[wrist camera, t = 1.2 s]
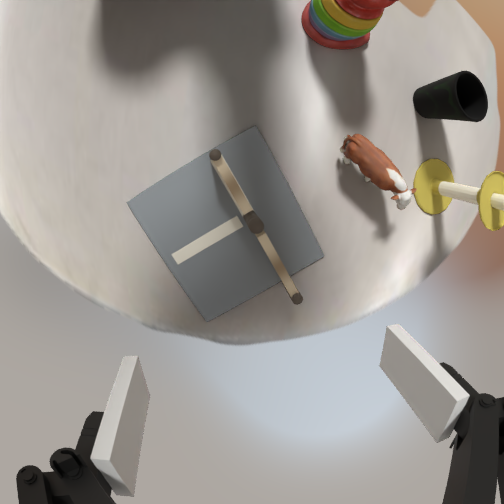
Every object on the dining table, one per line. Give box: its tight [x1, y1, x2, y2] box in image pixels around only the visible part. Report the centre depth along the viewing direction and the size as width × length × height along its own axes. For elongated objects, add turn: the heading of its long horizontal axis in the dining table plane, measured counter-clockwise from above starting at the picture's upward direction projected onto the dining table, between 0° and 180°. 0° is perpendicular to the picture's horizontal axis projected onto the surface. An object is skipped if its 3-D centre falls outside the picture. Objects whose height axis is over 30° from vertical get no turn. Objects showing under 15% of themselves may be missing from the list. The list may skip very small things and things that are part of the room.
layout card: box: [127, 126, 324, 322], centre depth 45 cm, size 22×21×1 cm
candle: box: [414, 159, 504, 231], centre depth 32 cm, size 10×10×32 cm
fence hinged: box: [255, 230, 303, 304], centre depth 43 cm, size 11×1×7 cm, turn 29°
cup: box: [413, 71, 488, 122], centre depth 37 cm, size 8×8×12 cm
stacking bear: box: [302, 0, 398, 49], centre depth 29 cm, size 11×10×18 cm
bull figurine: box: [340, 134, 417, 210], centre depth 41 cm, size 4×14×8 cm, turn 47°
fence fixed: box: [209, 149, 264, 234], centre depth 40 cm, size 11×2×7 cm, turn 29°
